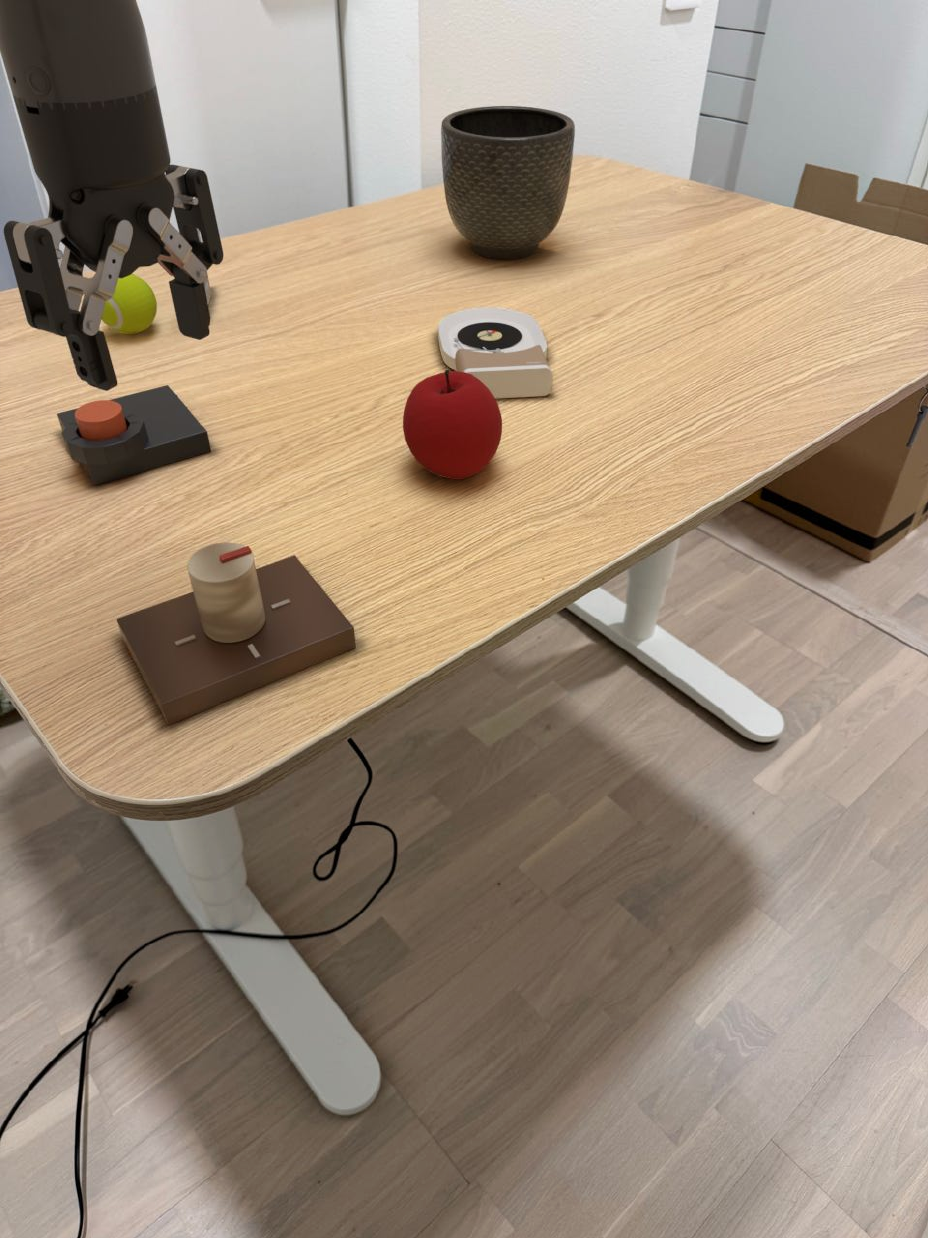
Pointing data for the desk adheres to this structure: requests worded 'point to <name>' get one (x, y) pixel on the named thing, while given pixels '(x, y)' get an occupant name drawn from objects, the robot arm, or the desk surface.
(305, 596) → the dial panel
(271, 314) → the desk surface
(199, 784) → the desk surface
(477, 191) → the planter
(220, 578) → the dial
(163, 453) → the button box
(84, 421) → the button
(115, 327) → the tennis ball
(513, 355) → the record player
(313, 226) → the desk surface
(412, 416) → the apple
